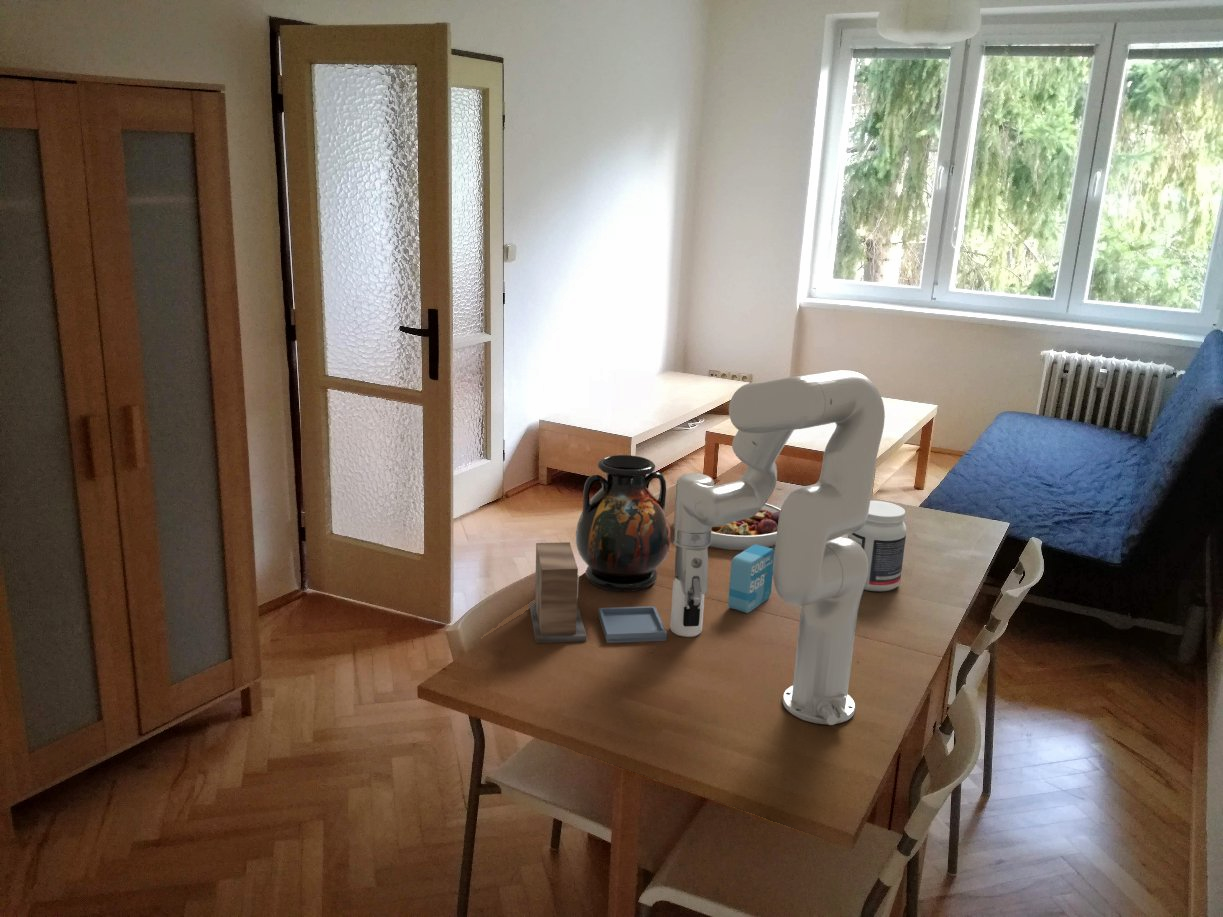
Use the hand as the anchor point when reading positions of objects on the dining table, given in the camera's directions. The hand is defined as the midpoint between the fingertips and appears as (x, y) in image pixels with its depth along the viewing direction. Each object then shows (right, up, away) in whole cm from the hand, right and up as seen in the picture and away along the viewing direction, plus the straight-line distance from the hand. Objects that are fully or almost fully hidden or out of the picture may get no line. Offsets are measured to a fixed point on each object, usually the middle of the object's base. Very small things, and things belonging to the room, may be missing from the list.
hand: (686, 616), depth 201 cm
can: (0, -3, +1) cm, 3 cm away
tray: (-11, -2, +1) cm, 12 cm away
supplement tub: (+45, +3, +29) cm, 53 cm away
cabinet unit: (-27, -2, +2) cm, 27 cm away
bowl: (+16, +13, +57) cm, 61 cm away
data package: (+15, 0, +15) cm, 21 cm away
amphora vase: (-13, +5, +25) cm, 29 cm away
